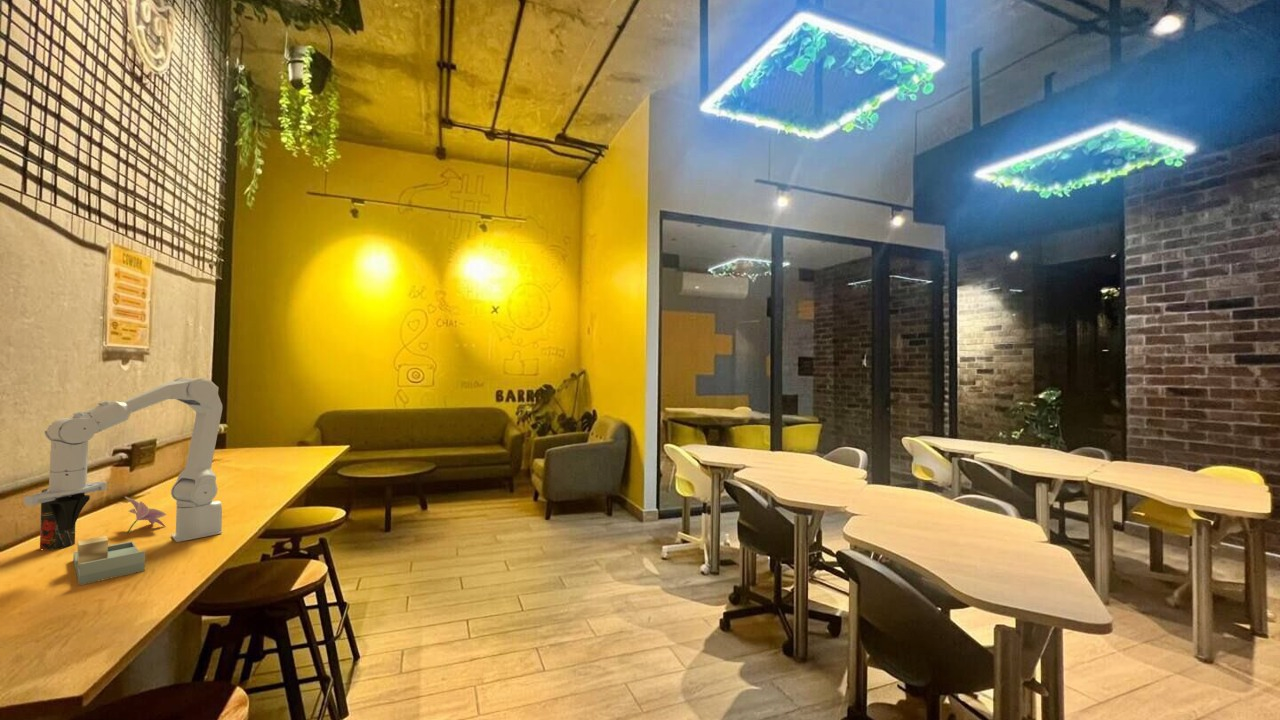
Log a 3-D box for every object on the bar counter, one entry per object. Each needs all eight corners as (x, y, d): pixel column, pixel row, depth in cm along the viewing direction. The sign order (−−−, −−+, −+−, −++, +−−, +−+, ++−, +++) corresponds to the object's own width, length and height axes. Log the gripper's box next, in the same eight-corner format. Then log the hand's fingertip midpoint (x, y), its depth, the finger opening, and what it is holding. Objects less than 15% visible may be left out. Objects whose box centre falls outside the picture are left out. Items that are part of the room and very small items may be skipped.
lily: (164, 536, 139) (181, 502, 144) (108, 528, 132) (128, 493, 136) (155, 540, 146) (171, 508, 151) (101, 533, 138) (120, 499, 143)
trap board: (132, 548, 127) (132, 531, 127) (144, 570, 114) (145, 551, 114) (73, 560, 119) (73, 541, 119) (79, 585, 106) (79, 564, 106)
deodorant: (80, 543, 130) (81, 487, 130) (47, 551, 124) (48, 492, 125) (67, 541, 132) (69, 485, 132) (34, 548, 126) (36, 490, 126)
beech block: (105, 554, 118) (106, 535, 118) (107, 559, 115) (108, 540, 115) (77, 560, 114) (77, 540, 114) (78, 565, 112) (78, 545, 112)
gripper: (87, 463, 121) (85, 518, 121) (11, 476, 107) (8, 539, 106) (115, 464, 121) (113, 519, 121) (42, 476, 106) (40, 539, 106)
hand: (66, 528), depth 114 cm, fingers closed
